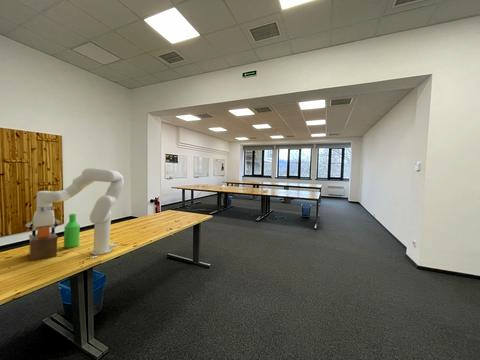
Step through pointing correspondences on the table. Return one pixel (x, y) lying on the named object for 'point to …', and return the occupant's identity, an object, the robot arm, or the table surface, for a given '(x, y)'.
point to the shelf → (43, 246)
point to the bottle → (71, 232)
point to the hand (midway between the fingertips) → (43, 234)
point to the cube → (43, 232)
